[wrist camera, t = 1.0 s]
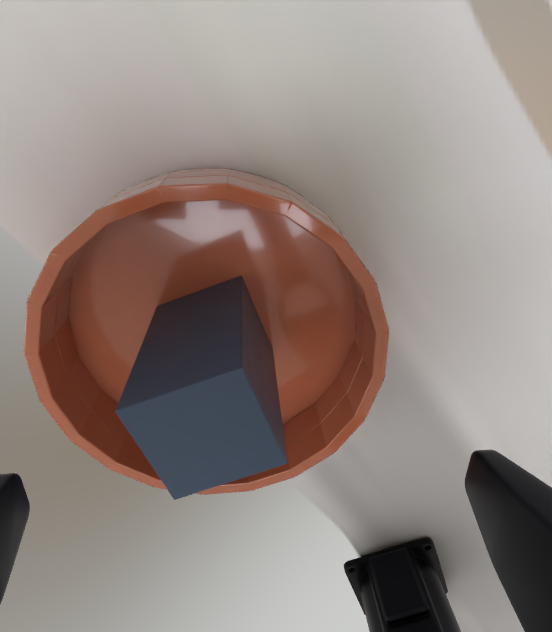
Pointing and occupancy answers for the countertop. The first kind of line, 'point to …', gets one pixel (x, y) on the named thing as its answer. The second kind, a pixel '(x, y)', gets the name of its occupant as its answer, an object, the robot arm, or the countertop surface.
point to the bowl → (194, 275)
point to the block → (205, 392)
